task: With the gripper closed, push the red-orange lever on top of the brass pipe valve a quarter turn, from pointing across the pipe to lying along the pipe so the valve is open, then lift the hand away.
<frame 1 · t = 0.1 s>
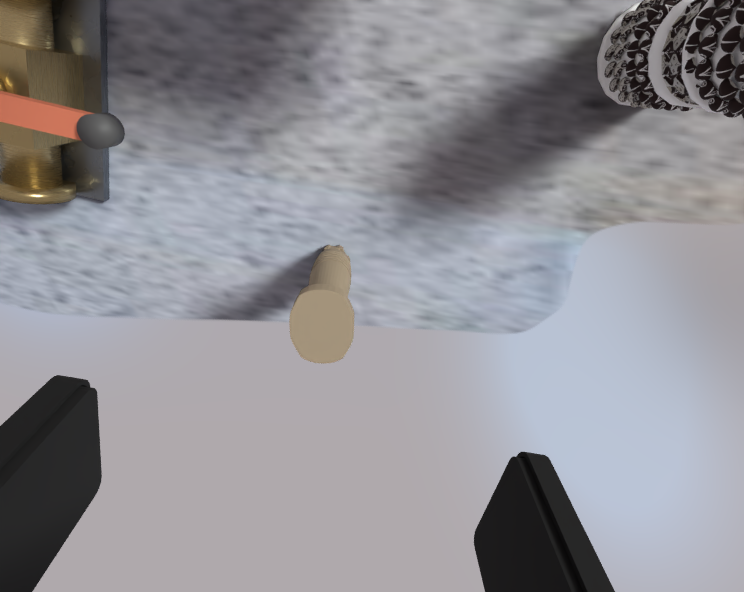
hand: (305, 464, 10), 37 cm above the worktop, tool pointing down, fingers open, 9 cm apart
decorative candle: (643, 55, 39), on the worktop
handle: (334, 256, 47), on the worktop
valve: (49, 88, 40), on the worktop
lever: (14, 110, 29), point 12 cm above the worktop, hinge at 90.0°
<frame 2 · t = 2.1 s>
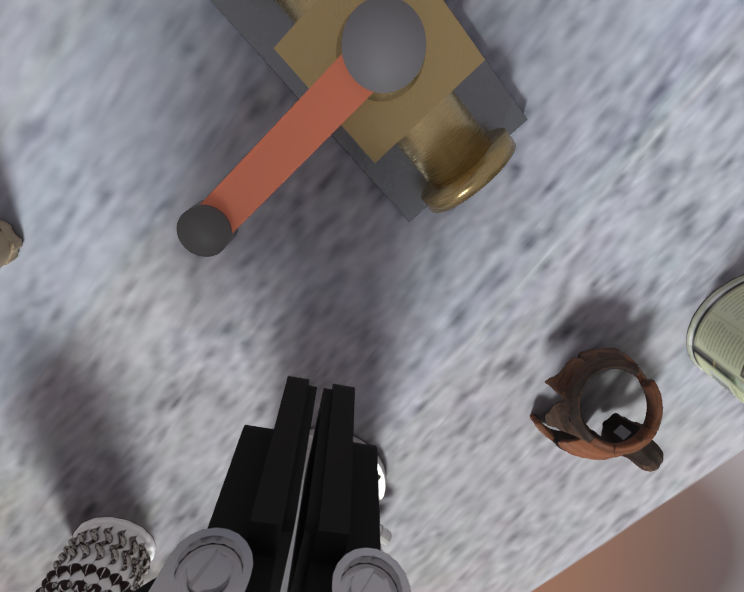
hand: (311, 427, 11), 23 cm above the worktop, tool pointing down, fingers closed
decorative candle: (116, 542, 47), on the worktop
handle: (4, 237, 33), on the worktop
valve: (376, 62, 28), on the worktop
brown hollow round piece: (582, 391, 40), on the worktop
lever: (293, 140, 18), point 12 cm above the worktop, hinge at 90.0°
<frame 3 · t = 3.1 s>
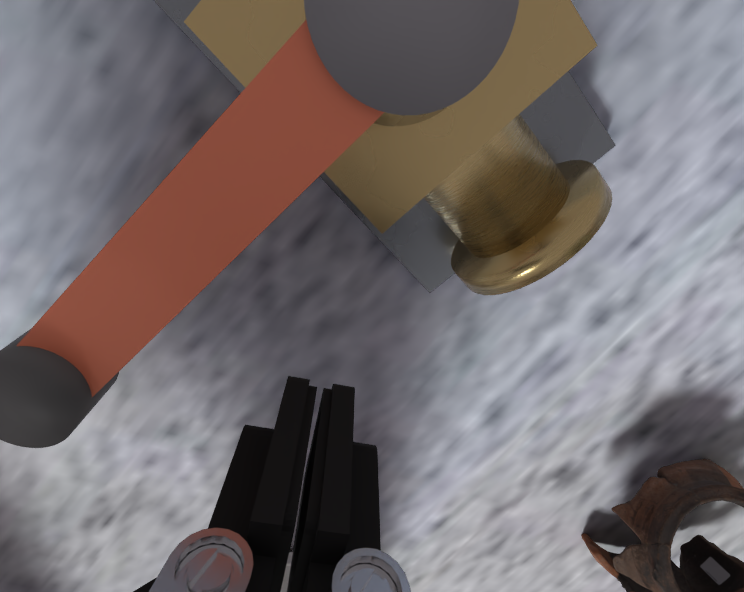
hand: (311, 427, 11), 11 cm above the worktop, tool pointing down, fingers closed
valve: (381, 57, 18), on the worktop
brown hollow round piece: (653, 504, 29), on the worktop
lever: (205, 216, 8), point 12 cm above the worktop, hinge at 90.0°
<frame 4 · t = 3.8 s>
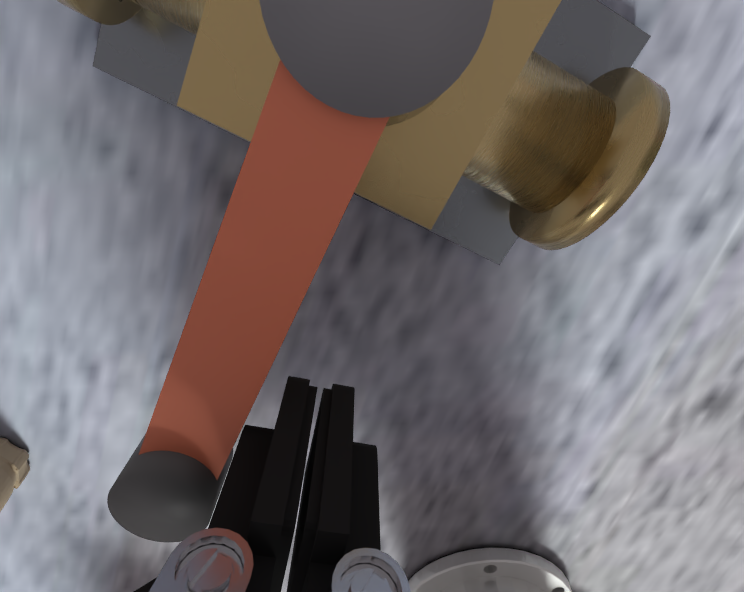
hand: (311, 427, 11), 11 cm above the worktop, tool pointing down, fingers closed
handle: (7, 452, 26), on the worktop
valve: (369, 53, 17), on the worktop
lever: (256, 283, 8), point 12 cm above the worktop, hinge at 90.0°, touching gripper
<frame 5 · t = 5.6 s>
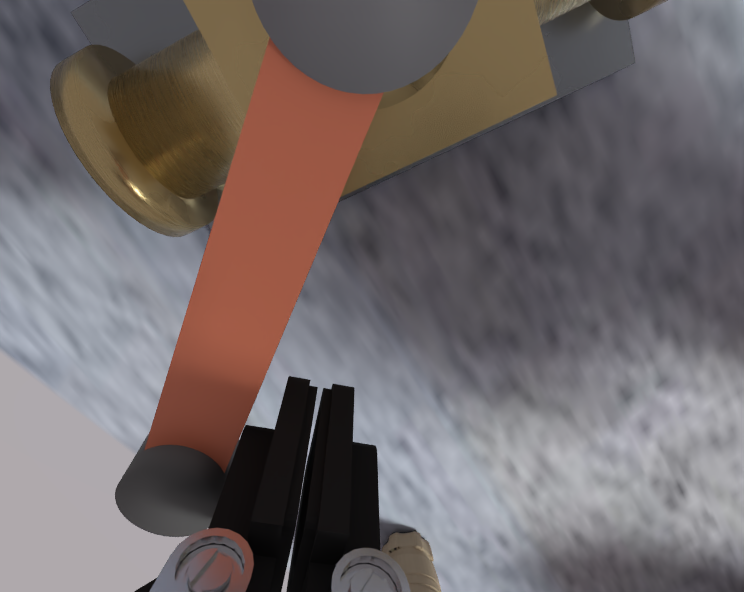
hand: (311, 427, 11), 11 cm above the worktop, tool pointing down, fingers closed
handle: (405, 540, 30), on the worktop
valve: (362, 40, 17), on the worktop
lever: (255, 270, 8), point 12 cm above the worktop, hinge at 41.0°, touching gripper
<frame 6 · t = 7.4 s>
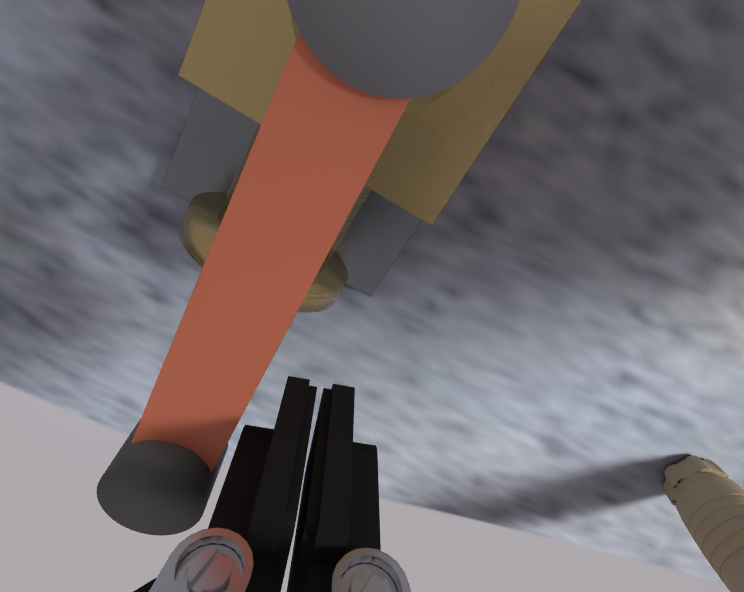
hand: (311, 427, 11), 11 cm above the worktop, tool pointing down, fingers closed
handle: (683, 469, 27), on the worktop
valve: (378, 43, 17), on the worktop
lever: (261, 268, 8), point 12 cm above the worktop, hinge at 2.1°
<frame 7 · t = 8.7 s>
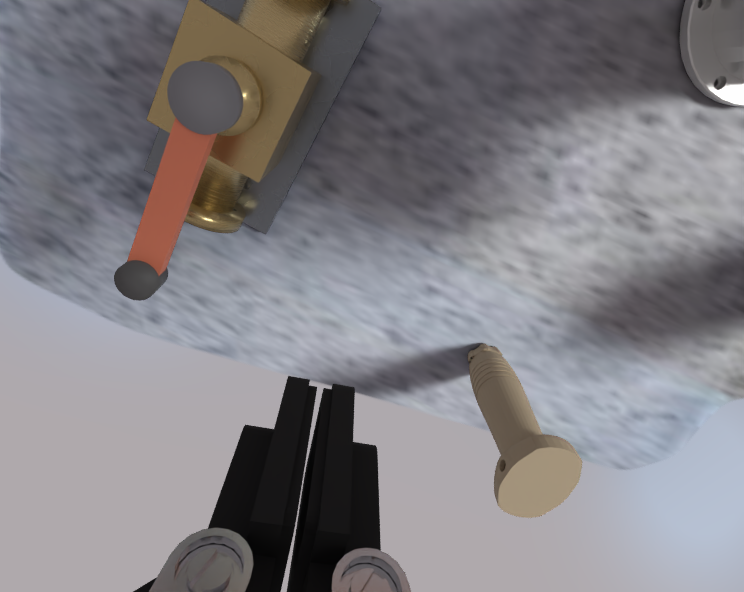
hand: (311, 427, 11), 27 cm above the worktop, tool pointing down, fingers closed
handle: (482, 355, 43), on the worktop
valve: (257, 94, 32), on the worktop
lever: (172, 190, 23), point 12 cm above the worktop, hinge at 1.9°
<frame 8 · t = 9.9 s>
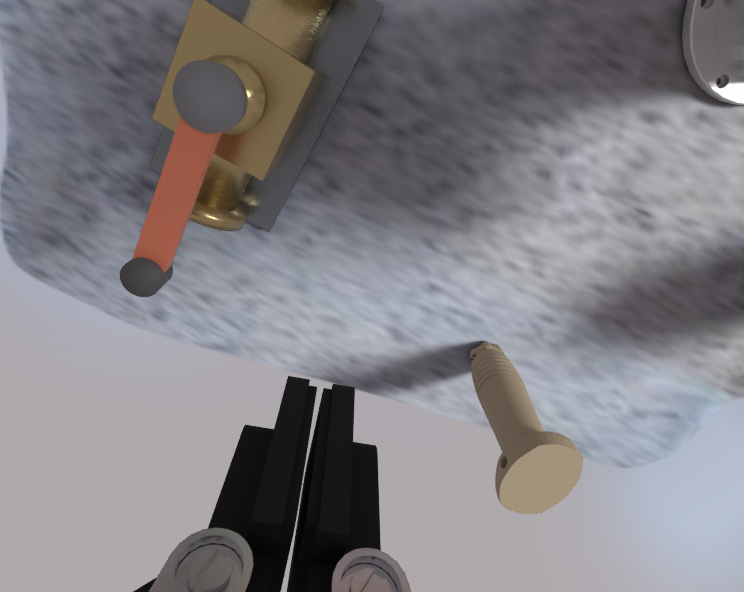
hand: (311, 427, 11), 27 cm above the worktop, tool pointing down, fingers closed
handle: (484, 353, 43), on the worktop
valve: (261, 92, 32), on the worktop
lever: (177, 188, 23), point 12 cm above the worktop, hinge at 1.9°
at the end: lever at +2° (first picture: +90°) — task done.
